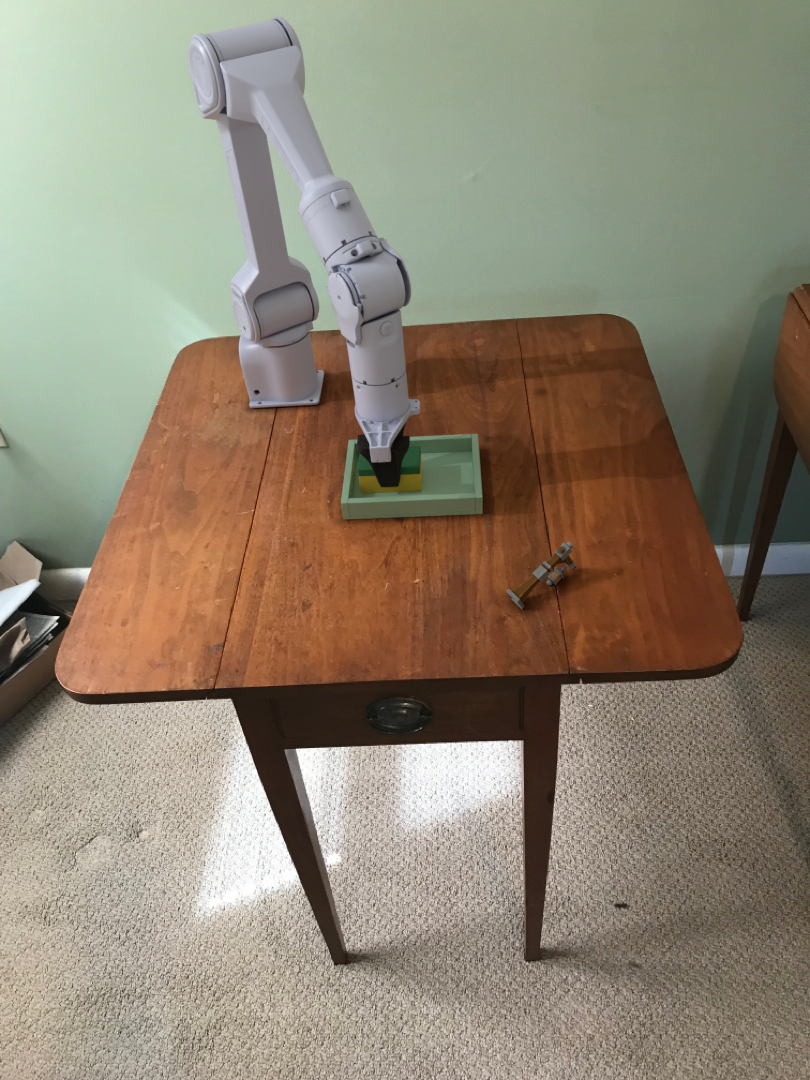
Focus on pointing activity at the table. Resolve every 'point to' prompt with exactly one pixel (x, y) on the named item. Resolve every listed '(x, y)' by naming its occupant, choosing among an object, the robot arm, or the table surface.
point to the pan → (444, 482)
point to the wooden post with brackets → (544, 573)
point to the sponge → (408, 478)
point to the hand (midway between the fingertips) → (390, 472)
